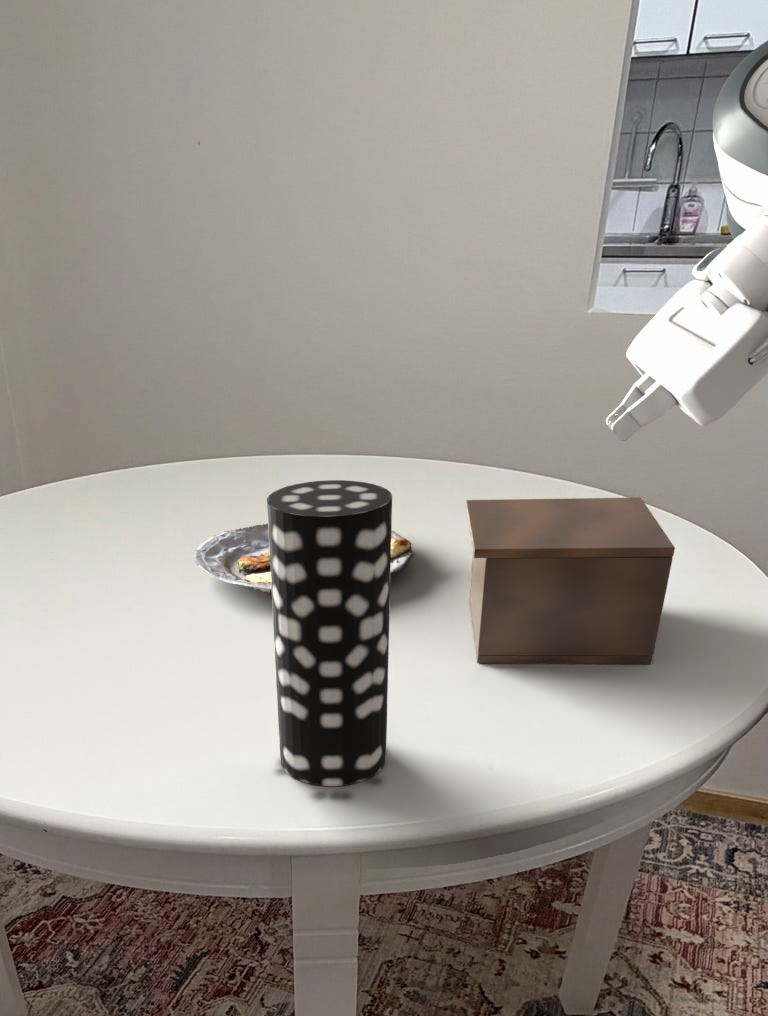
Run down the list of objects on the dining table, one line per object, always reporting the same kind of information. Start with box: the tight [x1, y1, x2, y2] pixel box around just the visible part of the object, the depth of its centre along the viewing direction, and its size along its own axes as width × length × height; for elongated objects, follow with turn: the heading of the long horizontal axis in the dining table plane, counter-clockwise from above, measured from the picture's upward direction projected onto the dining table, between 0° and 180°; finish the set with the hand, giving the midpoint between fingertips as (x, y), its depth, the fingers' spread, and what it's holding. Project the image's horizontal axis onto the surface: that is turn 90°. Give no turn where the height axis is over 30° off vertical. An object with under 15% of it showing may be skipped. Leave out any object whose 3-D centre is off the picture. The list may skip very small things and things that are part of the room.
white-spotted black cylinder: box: [266, 479, 393, 787], centre depth 69 cm, size 8×8×20 cm
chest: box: [468, 553, 674, 665], centre depth 90 cm, size 16×15×10 cm
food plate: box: [193, 523, 415, 593], centre depth 109 cm, size 25×23×4 cm
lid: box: [465, 497, 676, 558], centre depth 87 cm, size 17×15×1 cm
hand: (613, 431), depth 81 cm, fingers closed
